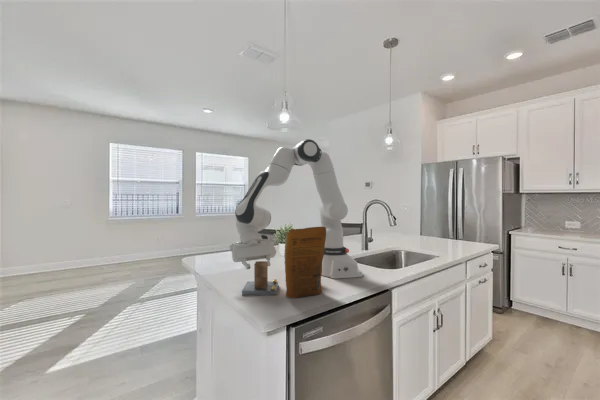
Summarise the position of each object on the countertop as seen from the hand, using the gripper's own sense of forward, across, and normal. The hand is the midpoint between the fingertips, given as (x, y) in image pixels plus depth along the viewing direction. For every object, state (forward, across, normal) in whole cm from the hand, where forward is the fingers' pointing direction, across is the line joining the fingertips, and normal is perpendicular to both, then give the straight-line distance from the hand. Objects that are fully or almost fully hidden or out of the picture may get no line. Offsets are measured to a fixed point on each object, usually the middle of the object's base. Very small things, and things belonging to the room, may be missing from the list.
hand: (258, 267), depth 120 cm
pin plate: (+8, 0, +5) cm, 10 cm away
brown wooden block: (+7, 0, +4) cm, 8 cm away
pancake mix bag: (+19, +13, -6) cm, 24 cm away
